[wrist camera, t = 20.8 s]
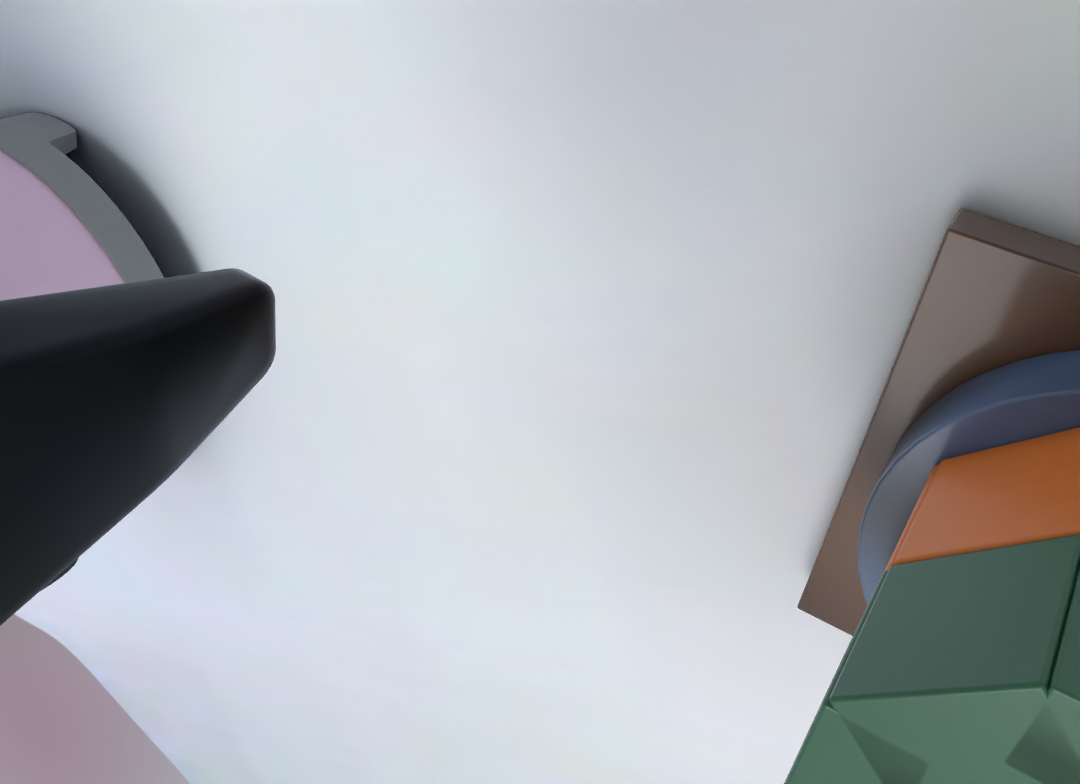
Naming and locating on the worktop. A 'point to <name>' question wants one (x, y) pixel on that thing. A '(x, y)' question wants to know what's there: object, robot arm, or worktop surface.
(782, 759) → the worktop surface
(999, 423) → the ring stand
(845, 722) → the green ring
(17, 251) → the blender
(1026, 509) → the orange ring
